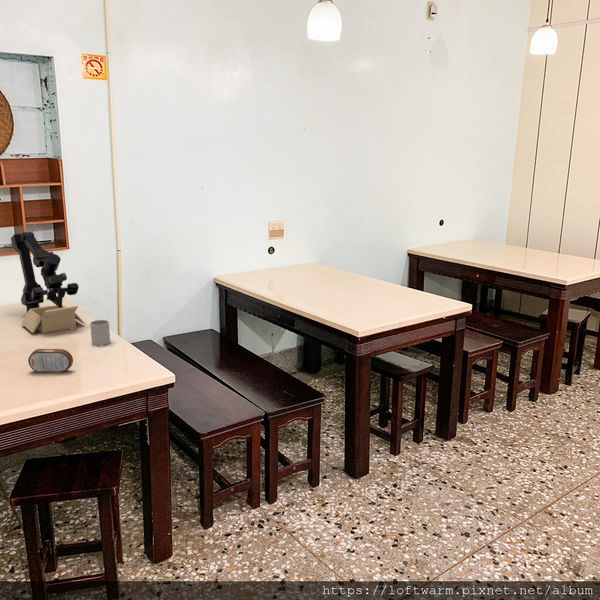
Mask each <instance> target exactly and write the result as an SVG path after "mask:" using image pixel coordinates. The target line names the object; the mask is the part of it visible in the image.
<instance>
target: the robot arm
mask: <svg viewBox="0 0 600 600" xmlns="http://www.w3.org/2000/svg"><path fill="white" fill-rule="evenodd" d="M10 241H11V244H12V245H13V249H14V251H16V252H17V253H18V256H19V260H20V265H21V270H22V275H23V279H24V286H23V288H22V294H21V299H20V302H21V305H23V306H24V307H26V313H27V312H28V311H29V310H30V309H34V308H40V304H43V303H44V298H45V296H46V301H50V302H52V303H53V304H54V305H57V306H58V307H59V308H62V305H63V298H65V295H68V296H73V295H74V296H76V294H78V291H79V284H78V283H77V282H72V283H67V285H66V286H64V287H63V283H64V282H65V281H67V280H68V276H67V274H66V272H61V273H59V274H57V270H58V268H59V265H60V263H61V257H60V256H59V255H58V254H55V253H54V252H53V251H48V250H45V249H43V248H42V245H41V244H40V243H39V241H38V240H37V238H36V237H35V233H34V232H33V231H24V232H20V233H14V234H13V235H12V236H11V237H10ZM31 254H32V256H31ZM31 257H32V258H31ZM33 265H34V266H35V267H36V268H41V269H40V276H41V277H42V279H43V282H44V286H45V287H46V289H44V288H43V287H42V286H41V284H39V283H38V282H37V280H36V276H35V271H34V266H33Z"/></svg>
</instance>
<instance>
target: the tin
mask: <svg viewBox="0 0 600 600" xmlns="http://www.w3.org/2000/svg"><path fill="white" fill-rule="evenodd" d="M27 362H28V365H29V367H30V368H31V370H33V371H34V372H37V373H41V374H42V373H43V372H61V373H65V372H67V371H68V370H69V369H70V368H71V367H72V366H73V365H74V359H73V356H72V354H71V353H70V352H69V351H68V350H66V349H64V348H37V349H35V350H33V351H32V352H31V353H30V355H29V356H28V361H27Z"/></svg>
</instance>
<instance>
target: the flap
mask: <svg viewBox="0 0 600 600" xmlns="http://www.w3.org/2000/svg"><path fill="white" fill-rule="evenodd" d="M78 308H79V306H78V305H73V306H65V308H58V309H52V310H45V312H44V314H43V316H42V317H43V318H45V317H51V316H58V315H64V314H70V313H76V311H77V309H78Z"/></svg>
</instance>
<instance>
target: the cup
mask: <svg viewBox="0 0 600 600" xmlns="http://www.w3.org/2000/svg"><path fill="white" fill-rule="evenodd" d="M89 326H90V335H91V336H90V337H91V344H92V345H93V346H95V345H96V347H101V346H100V345H104V346H107V345H109V344H110V343H111V334H110V332H111V331H110V321H109V320H106V319H97V320H93V321H91V322H89Z"/></svg>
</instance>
